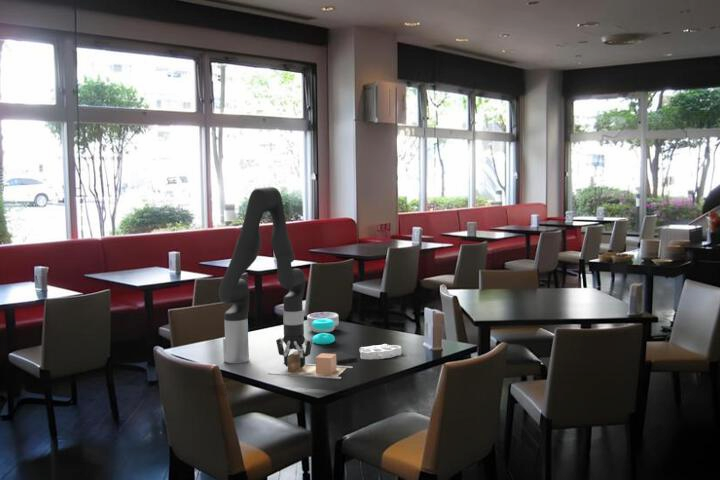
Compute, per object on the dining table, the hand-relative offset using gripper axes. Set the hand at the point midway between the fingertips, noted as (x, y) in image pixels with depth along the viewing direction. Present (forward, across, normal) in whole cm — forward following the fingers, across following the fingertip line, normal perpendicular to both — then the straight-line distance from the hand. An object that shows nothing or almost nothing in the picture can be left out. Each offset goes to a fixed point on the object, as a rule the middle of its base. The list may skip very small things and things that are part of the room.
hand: (294, 366), depth 246 cm
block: (+1, +12, 0) cm, 13 cm away
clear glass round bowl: (+3, -14, +70) cm, 71 cm away
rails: (+2, +6, 0) cm, 7 cm away
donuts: (+3, -6, +48) cm, 48 cm away
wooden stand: (+2, +8, 0) cm, 9 cm away
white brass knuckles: (+3, +25, +32) cm, 40 cm away
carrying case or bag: (+3, +12, +19) cm, 22 cm away
